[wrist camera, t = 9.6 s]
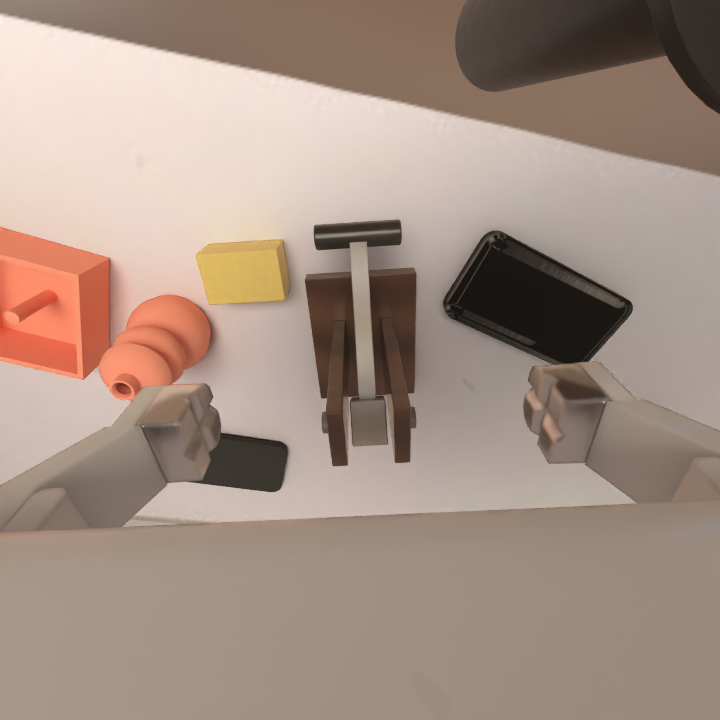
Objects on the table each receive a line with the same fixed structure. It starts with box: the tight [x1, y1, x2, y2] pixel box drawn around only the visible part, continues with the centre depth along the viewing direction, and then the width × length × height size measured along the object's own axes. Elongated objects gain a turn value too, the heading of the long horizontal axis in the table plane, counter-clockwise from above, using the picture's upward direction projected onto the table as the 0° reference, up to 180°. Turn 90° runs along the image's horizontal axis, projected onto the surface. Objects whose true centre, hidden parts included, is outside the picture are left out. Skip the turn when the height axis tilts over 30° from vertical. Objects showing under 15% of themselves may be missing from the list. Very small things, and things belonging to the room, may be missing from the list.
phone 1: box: [186, 434, 287, 492], centre depth 43 cm, size 7×1×15 cm
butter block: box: [196, 239, 290, 305], centre depth 31 cm, size 4×6×3 cm, turn 93°
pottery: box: [0, 227, 211, 401], centre depth 30 cm, size 18×10×10 cm, turn 72°
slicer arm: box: [314, 220, 402, 446], centre depth 25 cm, size 14×6×2 cm
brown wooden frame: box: [305, 268, 416, 466], centre depth 30 cm, size 12×9×14 cm
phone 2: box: [443, 231, 633, 365], centre depth 34 cm, size 8×1×15 cm
